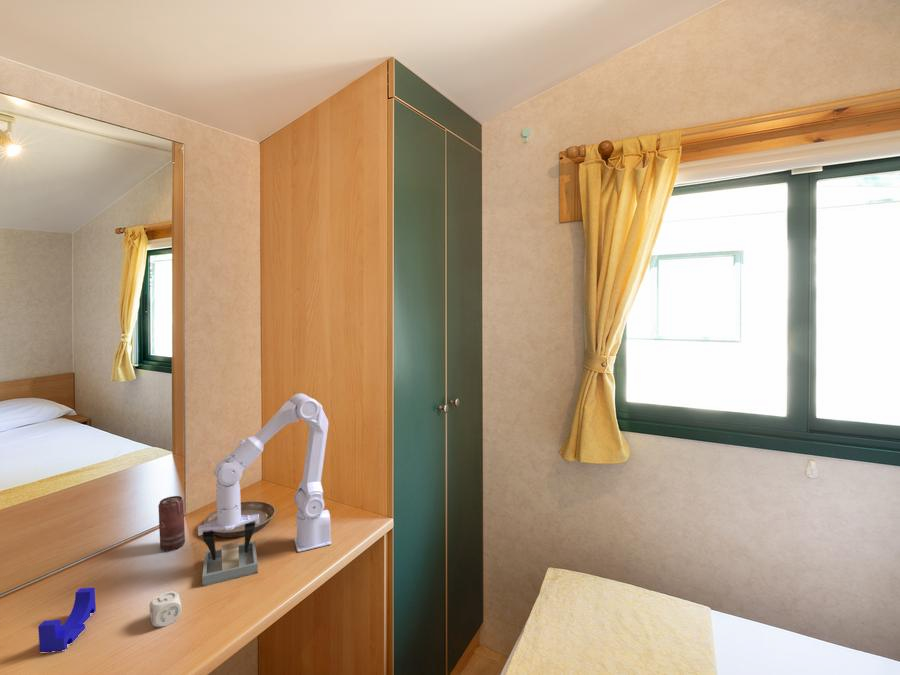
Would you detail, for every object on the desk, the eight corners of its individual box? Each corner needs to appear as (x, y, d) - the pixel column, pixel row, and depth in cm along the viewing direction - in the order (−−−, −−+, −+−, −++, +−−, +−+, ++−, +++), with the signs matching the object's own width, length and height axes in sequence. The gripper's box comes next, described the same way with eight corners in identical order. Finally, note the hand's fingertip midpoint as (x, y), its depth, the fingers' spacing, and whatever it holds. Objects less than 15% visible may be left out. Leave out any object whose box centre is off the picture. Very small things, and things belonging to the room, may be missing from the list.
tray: (255, 549, 127) (254, 541, 126) (257, 572, 115) (257, 563, 115) (205, 560, 121) (204, 552, 121) (202, 586, 110) (202, 576, 110)
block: (238, 559, 121) (238, 541, 120) (239, 566, 117) (238, 548, 117) (222, 563, 119) (221, 545, 119) (222, 570, 115) (221, 552, 115)
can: (174, 553, 125) (172, 505, 124) (155, 550, 126) (153, 503, 125) (190, 542, 131) (188, 496, 130) (172, 539, 132) (170, 494, 131)
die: (149, 619, 98) (148, 598, 98) (175, 608, 102) (174, 588, 101) (155, 631, 94) (154, 608, 94) (181, 619, 98) (181, 597, 98)
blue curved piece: (64, 652, 89) (63, 623, 88) (39, 654, 88) (38, 626, 88) (103, 612, 101) (101, 586, 100) (81, 613, 100) (80, 588, 100)
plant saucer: (284, 526, 140) (284, 516, 140) (212, 549, 127) (212, 538, 127) (264, 505, 156) (263, 495, 156) (198, 523, 143) (197, 513, 143)
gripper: (196, 517, 110) (198, 569, 111) (259, 505, 117) (260, 555, 118) (198, 505, 117) (200, 555, 117) (257, 495, 123) (259, 542, 124)
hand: (230, 554), depth 118 cm, fingers open, 7 cm apart
